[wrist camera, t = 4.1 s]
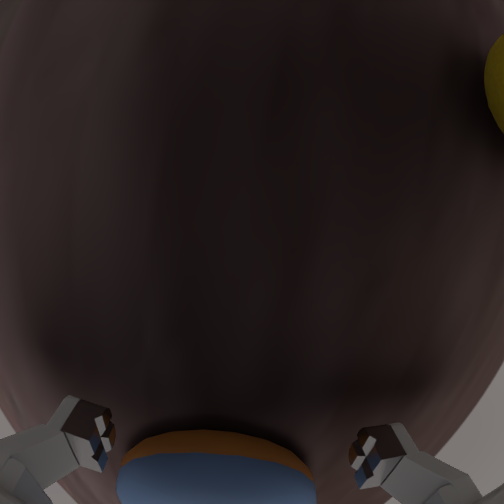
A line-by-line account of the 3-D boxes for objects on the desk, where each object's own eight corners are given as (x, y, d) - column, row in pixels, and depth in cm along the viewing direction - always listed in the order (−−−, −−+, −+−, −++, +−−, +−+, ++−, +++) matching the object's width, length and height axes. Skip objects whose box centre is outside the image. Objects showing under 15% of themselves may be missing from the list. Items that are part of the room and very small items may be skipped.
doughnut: (208, 520, 13) (208, 569, 9) (93, 445, 12) (68, 500, 7) (334, 468, 13) (358, 522, 9) (229, 370, 12) (233, 443, 7)
